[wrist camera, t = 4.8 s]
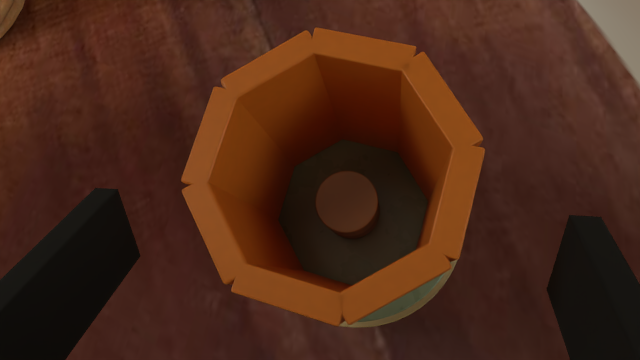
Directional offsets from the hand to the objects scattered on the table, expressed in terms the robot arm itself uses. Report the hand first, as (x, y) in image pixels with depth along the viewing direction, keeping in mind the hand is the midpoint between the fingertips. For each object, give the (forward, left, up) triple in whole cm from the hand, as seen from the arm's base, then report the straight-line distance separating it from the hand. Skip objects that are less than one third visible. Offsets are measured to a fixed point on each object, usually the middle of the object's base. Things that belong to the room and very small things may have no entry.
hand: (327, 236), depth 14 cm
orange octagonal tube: (+1, -1, -6) cm, 6 cm away
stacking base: (+1, -1, -11) cm, 11 cm away
